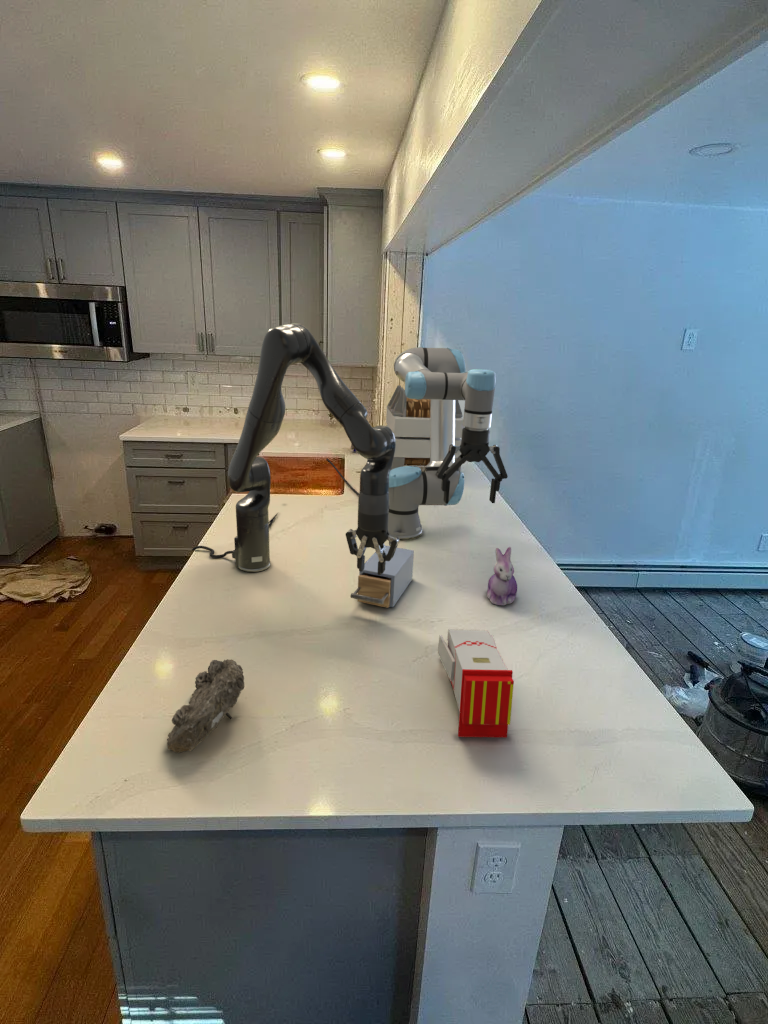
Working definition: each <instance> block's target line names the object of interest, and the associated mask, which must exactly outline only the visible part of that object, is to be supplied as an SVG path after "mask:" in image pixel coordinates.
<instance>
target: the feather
mask: <svg viewBox="0 0 768 1024" xmlns="http://www.w3.org/2000/svg"><path fill="white" fill-rule="evenodd" d="M278 513H279V512H277V513H276V514H275V515H274V516H273V517H272V518H271V519H269V528H271V526H272V524H273V523H274V521H275V520H276V517H277V516H278Z"/></svg>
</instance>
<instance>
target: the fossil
mask: <svg viewBox="0 0 768 1024" xmlns="http://www.w3.org/2000/svg"><path fill="white" fill-rule="evenodd" d="M243 670H244V669H243V667H242V665H240V664H237V662H236V661H235V660H234V659H232V658H231V659H227V658H226V659H224V660H223V661H222V660H217V659H212V660H211V661H210V663H209V665H208V666H207V671H201V672H199V673H198V674H197V675H196V676H195V680H194V684H195V685H194V687H195V689H194V690H193V693H192V694H191V697H190V698H189V700H188V704H184V705H182V706H181V707H180V709H177V710H176V711H175V713H174V715H173V716H172V718H171V723H172V724H173V727H172V730H171V731H170V732H168V734H167V738H166V741H167V742H166V745H167V749H168V750H169V751H173V752H174V753H176V754H178V753H182V752H188V751H189V752H192V751H193V750H195V748H196V747H197V746H199V744H200V743H201V742H203V741H204V740H205V739H206V738H207V737H208V736H209V735H210V734H211V733H212V732H214V730H215V729H217V727H218V726H219V724H220V722H221V721H222V720H223V719H224V718H225V716H226V717H227V719H229V720H233V717H232V715H230V714H229V710H230V709H231V708H234V706H235V704H236V703H237V702H238V699H239V697H240V695H241V693H242V691H243V690H245V689H244V688H245V675H244V671H243Z"/></svg>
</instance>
